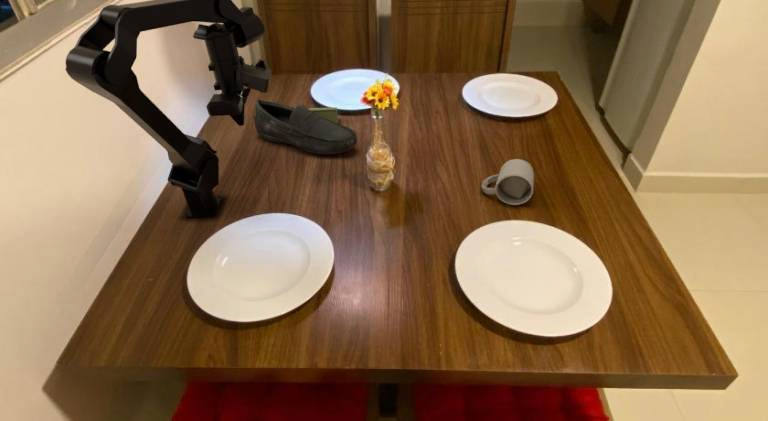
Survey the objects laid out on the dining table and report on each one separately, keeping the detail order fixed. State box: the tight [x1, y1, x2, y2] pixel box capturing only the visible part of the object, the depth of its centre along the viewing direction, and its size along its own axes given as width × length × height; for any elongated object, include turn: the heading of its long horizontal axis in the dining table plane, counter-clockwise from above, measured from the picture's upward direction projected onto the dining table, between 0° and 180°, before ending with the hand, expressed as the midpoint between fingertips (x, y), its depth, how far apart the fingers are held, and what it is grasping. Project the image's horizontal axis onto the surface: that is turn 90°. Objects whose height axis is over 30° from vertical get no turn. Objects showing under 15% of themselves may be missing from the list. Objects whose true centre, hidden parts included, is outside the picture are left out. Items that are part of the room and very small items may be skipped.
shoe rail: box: [308, 107, 339, 124], centre depth 121 cm, size 2×18×5 cm, turn 93°
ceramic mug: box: [481, 158, 535, 206], centre depth 95 cm, size 11×8×8 cm
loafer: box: [253, 99, 358, 156], centre depth 112 cm, size 10×29×10 cm, turn 71°
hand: (241, 124), depth 99 cm, fingers closed
